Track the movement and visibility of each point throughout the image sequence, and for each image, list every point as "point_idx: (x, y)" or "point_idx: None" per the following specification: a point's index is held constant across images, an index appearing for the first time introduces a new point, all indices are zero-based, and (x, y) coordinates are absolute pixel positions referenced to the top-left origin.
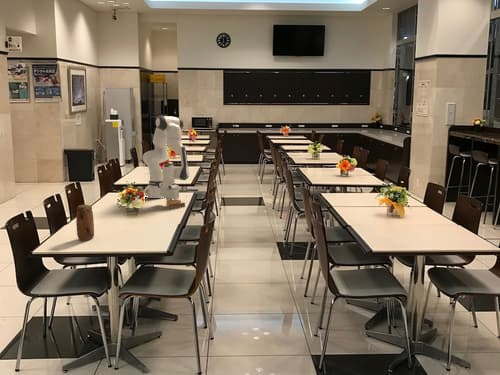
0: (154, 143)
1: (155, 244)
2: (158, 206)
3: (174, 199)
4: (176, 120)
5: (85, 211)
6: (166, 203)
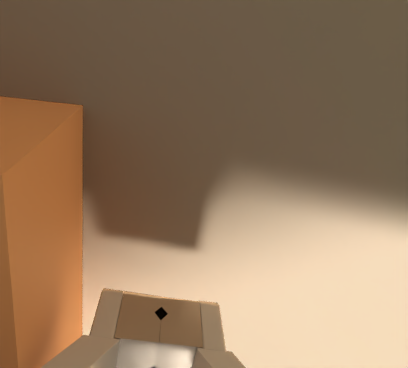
0: None
1: None
2: (375, 85)
3: None
4: None
5: None
6: (41, 139)
